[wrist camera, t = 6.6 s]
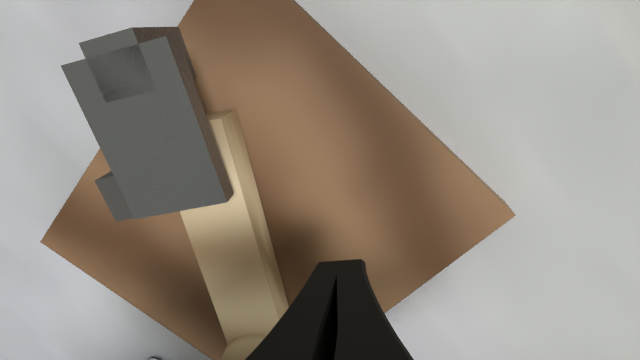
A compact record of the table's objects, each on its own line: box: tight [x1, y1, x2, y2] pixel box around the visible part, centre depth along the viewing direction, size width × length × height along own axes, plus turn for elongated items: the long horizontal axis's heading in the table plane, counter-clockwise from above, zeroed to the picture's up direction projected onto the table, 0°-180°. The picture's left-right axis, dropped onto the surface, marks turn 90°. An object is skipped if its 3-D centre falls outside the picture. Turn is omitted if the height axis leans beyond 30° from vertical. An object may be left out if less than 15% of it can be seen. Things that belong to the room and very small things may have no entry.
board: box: [41, 0, 515, 360], centre depth 19 cm, size 18×16×1 cm
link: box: [180, 109, 289, 360], centre depth 17 cm, size 15×4×4 cm, turn 10°
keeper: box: [61, 27, 234, 219], centre depth 15 cm, size 4×6×3 cm, turn 14°
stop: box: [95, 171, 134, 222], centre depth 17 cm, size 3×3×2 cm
